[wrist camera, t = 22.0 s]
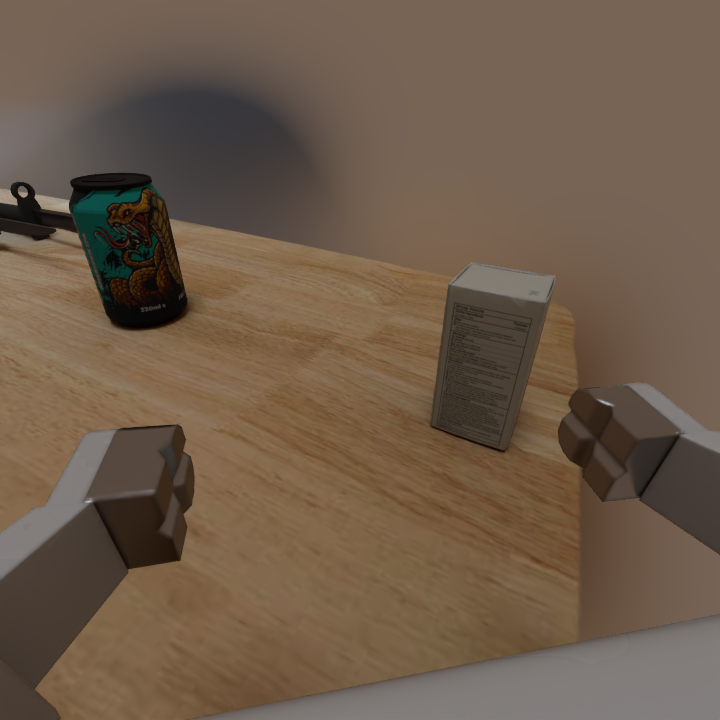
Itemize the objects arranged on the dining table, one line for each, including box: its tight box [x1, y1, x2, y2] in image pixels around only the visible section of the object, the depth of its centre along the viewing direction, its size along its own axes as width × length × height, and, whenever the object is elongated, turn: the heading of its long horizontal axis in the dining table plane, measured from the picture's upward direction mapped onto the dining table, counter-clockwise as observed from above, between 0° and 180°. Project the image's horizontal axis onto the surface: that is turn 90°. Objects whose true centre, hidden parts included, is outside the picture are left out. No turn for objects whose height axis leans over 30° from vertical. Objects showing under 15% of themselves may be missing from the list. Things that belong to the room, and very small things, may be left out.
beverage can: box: [69, 173, 187, 327], centre depth 36 cm, size 7×7×12 cm
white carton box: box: [430, 262, 556, 450], centre depth 25 cm, size 5×4×10 cm
